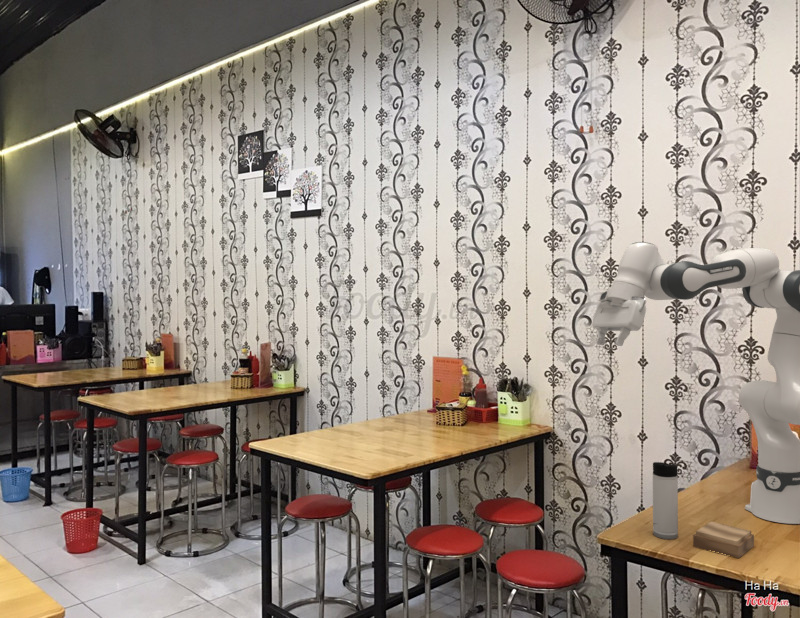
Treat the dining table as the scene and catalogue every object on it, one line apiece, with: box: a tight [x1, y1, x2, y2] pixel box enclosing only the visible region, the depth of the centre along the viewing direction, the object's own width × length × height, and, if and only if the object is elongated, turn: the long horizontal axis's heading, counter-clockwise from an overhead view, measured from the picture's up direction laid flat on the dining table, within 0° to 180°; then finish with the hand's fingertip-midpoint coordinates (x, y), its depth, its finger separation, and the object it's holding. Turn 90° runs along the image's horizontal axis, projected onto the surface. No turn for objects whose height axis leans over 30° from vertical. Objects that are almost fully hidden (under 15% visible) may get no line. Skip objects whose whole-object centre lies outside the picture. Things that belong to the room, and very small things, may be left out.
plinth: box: [692, 521, 755, 560], centre depth 168 cm, size 11×11×4 cm
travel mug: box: [652, 461, 679, 540], centre depth 176 cm, size 6×7×20 cm
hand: (608, 344), depth 175 cm, fingers open, 8 cm apart
